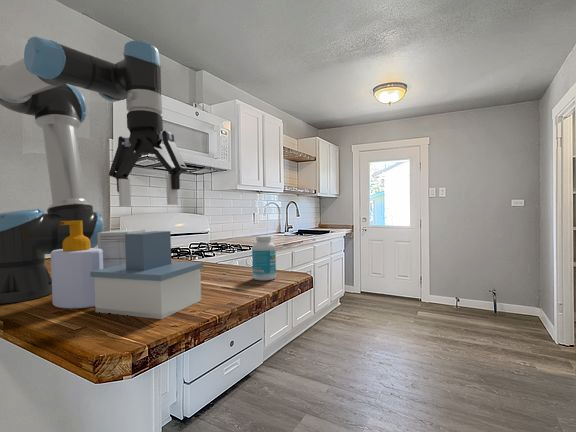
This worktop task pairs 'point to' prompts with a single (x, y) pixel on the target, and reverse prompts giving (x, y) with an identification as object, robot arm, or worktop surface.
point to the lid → (147, 259)
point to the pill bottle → (264, 259)
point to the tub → (147, 295)
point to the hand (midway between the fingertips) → (148, 205)
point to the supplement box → (114, 246)
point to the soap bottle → (75, 269)
